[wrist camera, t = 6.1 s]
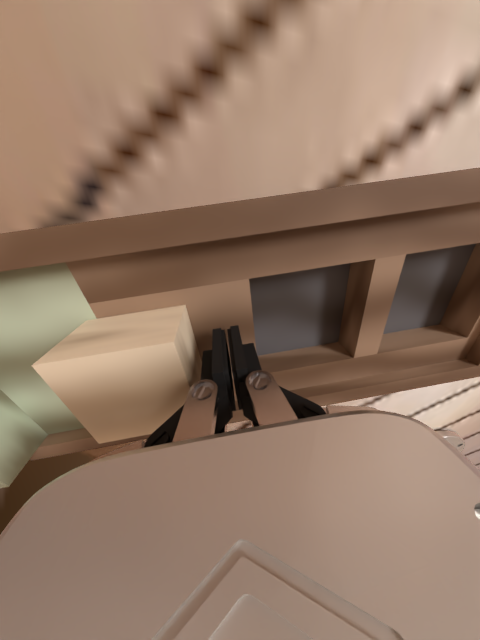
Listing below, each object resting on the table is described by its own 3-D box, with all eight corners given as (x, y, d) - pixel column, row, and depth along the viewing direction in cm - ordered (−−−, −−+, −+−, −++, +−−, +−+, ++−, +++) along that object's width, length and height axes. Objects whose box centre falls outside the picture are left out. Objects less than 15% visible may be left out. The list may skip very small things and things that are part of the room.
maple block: (205, 375, 15) (202, 424, 11) (126, 388, 15) (99, 443, 11) (185, 304, 12) (173, 341, 8) (86, 320, 12) (31, 365, 8)
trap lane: (445, 351, 20) (524, 398, 15) (61, 420, 19) (2, 499, 14) (542, 161, 13) (772, 123, 7) (-100, 250, 11) (-387, 282, 6)
